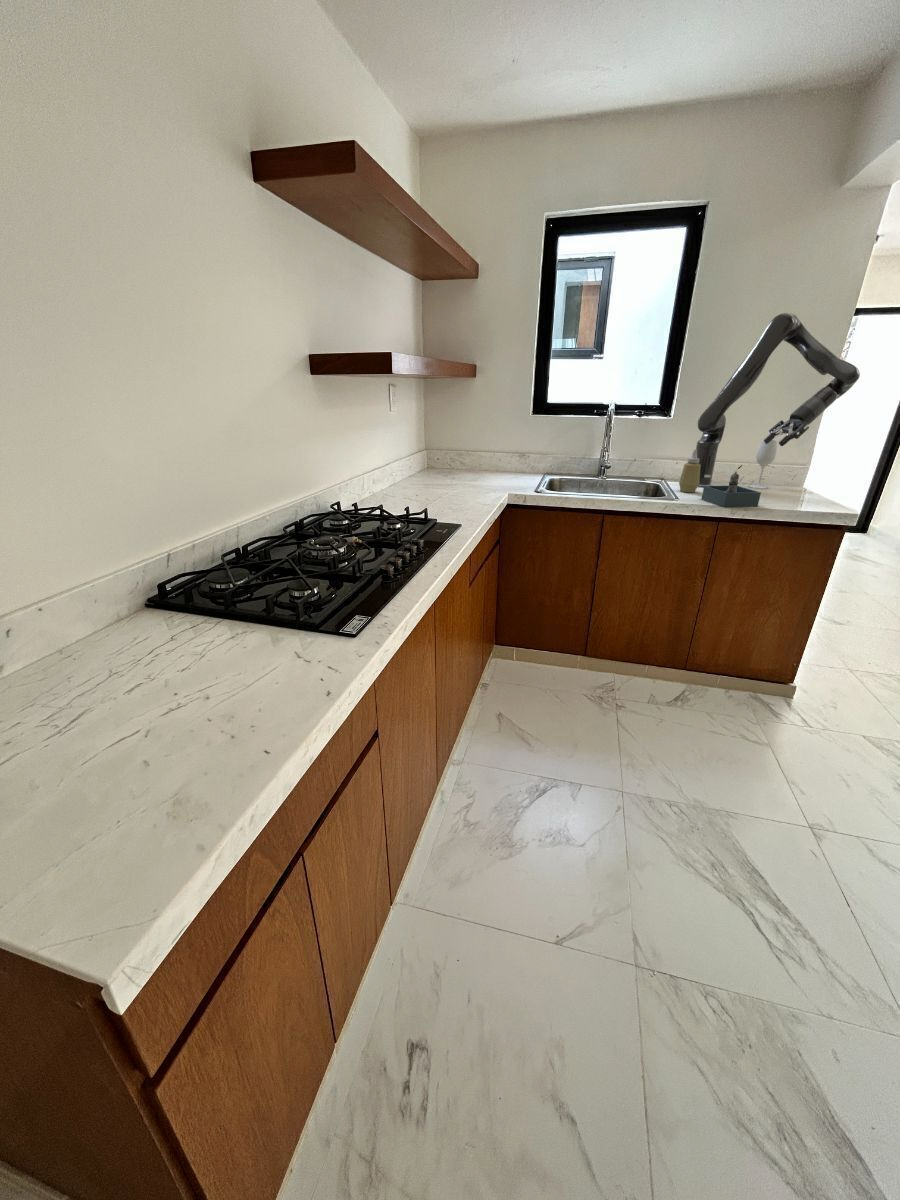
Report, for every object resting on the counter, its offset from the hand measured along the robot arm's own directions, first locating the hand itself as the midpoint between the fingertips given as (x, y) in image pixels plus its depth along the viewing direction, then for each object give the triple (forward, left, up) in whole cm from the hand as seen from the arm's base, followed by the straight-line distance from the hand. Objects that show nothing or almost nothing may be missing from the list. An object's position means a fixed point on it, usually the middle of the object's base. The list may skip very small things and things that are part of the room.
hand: (772, 443), depth 196 cm
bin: (+2, -14, -23) cm, 27 cm away
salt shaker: (+2, -14, -22) cm, 27 cm away
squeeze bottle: (-22, -18, -23) cm, 37 cm away
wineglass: (-30, +22, -23) cm, 44 cm away
